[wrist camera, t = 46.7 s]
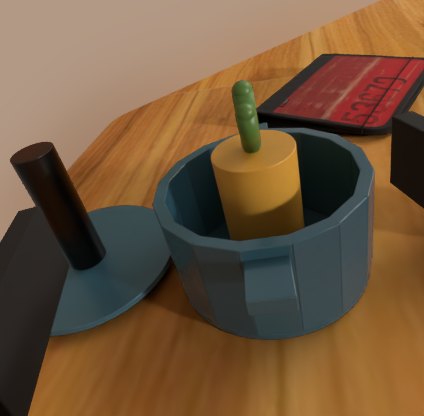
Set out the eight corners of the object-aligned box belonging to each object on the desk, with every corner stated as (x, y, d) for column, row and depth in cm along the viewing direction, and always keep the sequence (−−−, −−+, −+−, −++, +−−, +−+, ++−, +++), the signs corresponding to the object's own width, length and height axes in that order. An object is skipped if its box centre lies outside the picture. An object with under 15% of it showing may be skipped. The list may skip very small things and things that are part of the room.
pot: (167, 391, 22) (122, 305, 18) (193, 201, 38) (172, 131, 34) (417, 371, 20) (433, 269, 16) (337, 179, 36) (335, 101, 31)
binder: (250, 110, 47) (320, 52, 59) (252, 127, 48) (320, 67, 61) (390, 125, 38) (439, 53, 50) (388, 146, 39) (436, 71, 52)
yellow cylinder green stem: (236, 287, 27) (190, 108, 20) (236, 238, 31) (197, 75, 24) (313, 278, 26) (294, 87, 19) (301, 229, 30) (283, 57, 23)
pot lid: (-29, 350, 28) (-139, 234, 22) (48, 225, 40) (-10, 126, 34) (163, 330, 26) (102, 195, 20) (185, 204, 38) (150, 94, 32)
